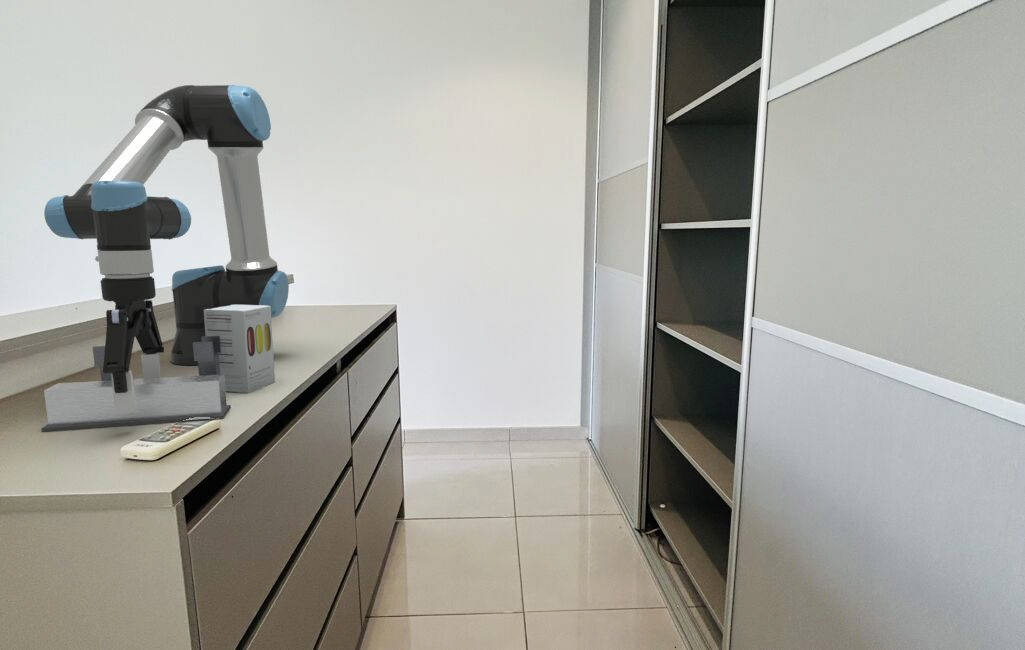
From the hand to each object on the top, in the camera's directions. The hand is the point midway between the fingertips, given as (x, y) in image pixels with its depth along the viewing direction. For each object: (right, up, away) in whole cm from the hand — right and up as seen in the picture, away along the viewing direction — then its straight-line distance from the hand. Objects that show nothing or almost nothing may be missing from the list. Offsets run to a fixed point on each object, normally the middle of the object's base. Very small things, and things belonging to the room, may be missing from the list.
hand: (140, 399), depth 100 cm
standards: (-1, -2, +10) cm, 10 cm away
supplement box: (+8, 0, +22) cm, 23 cm away
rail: (0, -3, +1) cm, 3 cm away
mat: (0, -3, +1) cm, 4 cm away
